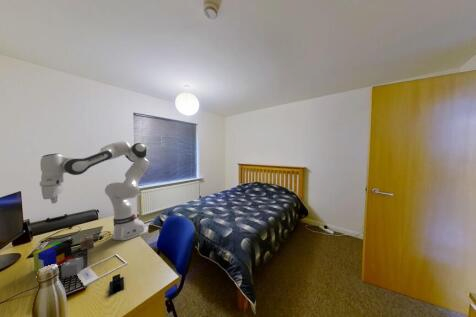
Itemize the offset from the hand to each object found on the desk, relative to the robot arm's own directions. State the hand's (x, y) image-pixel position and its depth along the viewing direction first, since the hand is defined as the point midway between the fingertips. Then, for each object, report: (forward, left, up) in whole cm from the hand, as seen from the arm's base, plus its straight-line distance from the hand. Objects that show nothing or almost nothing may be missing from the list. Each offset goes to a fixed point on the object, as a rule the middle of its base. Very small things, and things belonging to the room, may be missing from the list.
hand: (54, 202), depth 100 cm
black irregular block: (-31, +53, -32) cm, 69 cm away
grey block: (-12, +30, -31) cm, 45 cm away
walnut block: (-14, +4, -31) cm, 34 cm away
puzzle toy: (-2, +16, -31) cm, 35 cm away
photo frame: (-24, +35, -32) cm, 53 cm away
